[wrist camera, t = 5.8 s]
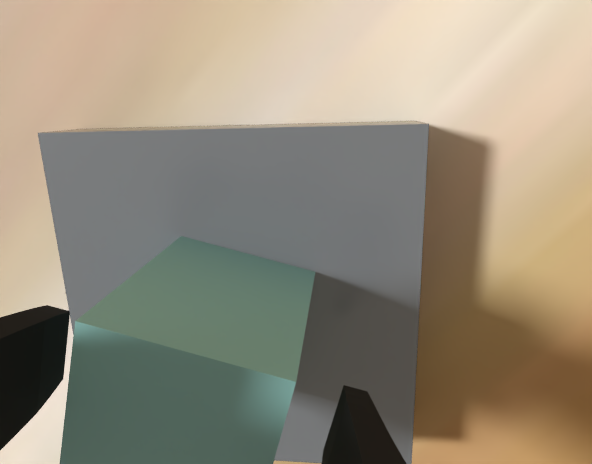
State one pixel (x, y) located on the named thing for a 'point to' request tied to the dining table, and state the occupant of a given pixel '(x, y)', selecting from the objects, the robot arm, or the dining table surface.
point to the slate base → (266, 238)
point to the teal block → (188, 361)
